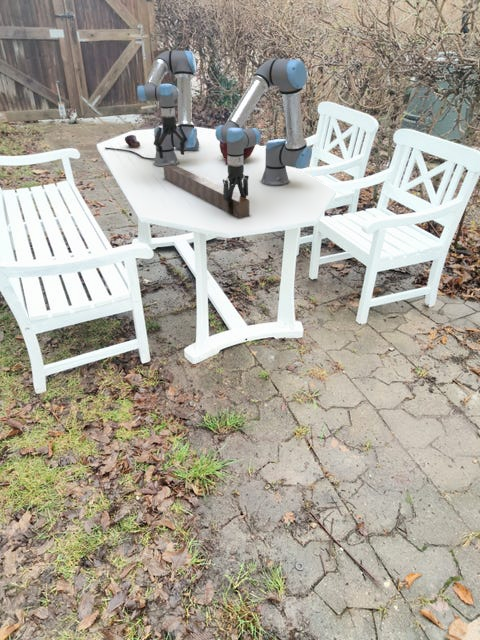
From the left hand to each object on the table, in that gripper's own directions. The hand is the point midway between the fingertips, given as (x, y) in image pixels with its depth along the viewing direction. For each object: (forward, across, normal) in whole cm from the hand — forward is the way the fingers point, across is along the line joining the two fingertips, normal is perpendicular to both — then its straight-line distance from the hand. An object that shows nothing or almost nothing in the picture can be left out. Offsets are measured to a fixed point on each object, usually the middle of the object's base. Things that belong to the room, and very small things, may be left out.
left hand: (172, 156), depth 256 cm
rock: (+14, +14, +90) cm, 92 cm away
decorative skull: (+14, +56, +15) cm, 59 cm away
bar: (+14, 0, -32) cm, 35 cm away
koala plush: (+14, +44, +62) cm, 77 cm away
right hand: (+14, 0, -63) cm, 65 cm away
